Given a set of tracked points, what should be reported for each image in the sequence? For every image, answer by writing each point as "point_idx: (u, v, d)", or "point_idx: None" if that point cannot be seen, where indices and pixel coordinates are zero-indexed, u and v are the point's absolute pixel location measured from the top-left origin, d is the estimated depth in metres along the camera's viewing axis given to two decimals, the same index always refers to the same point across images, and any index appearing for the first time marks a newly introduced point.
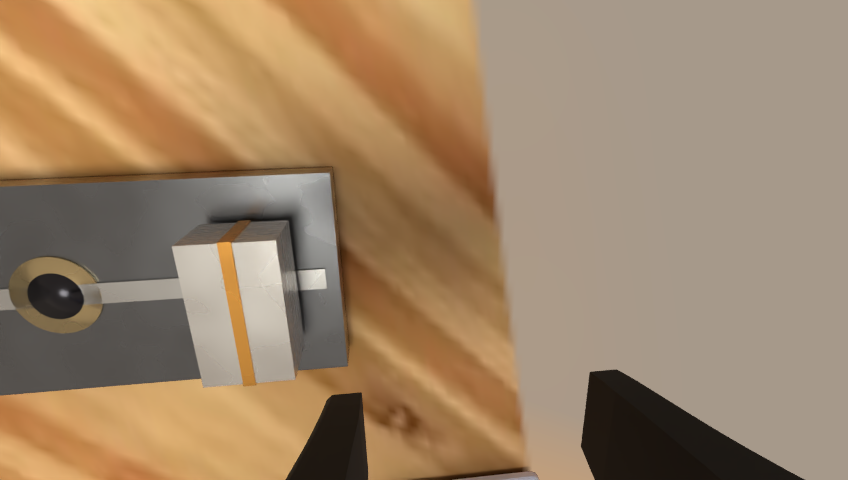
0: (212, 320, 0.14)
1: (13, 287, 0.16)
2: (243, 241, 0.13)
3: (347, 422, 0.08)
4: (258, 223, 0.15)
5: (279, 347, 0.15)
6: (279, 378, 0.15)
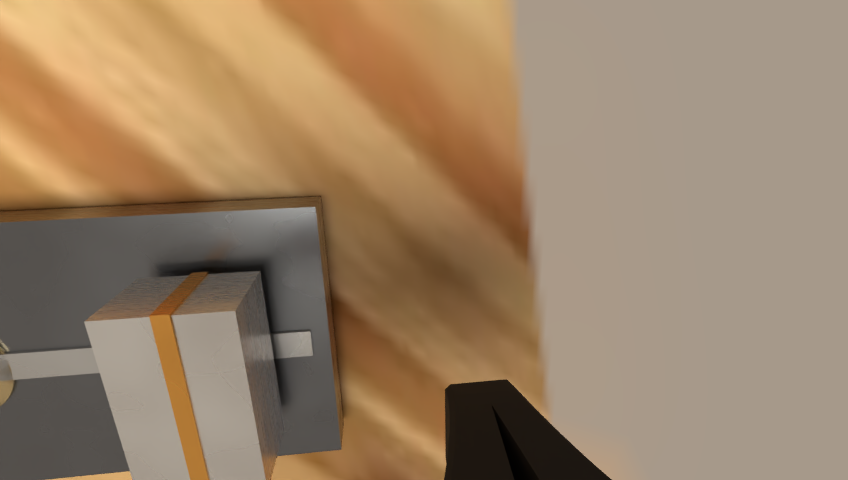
0: (148, 418, 0.10)
1: None
2: (189, 312, 0.09)
3: (481, 410, 0.08)
4: (217, 277, 0.11)
5: (244, 451, 0.11)
6: None
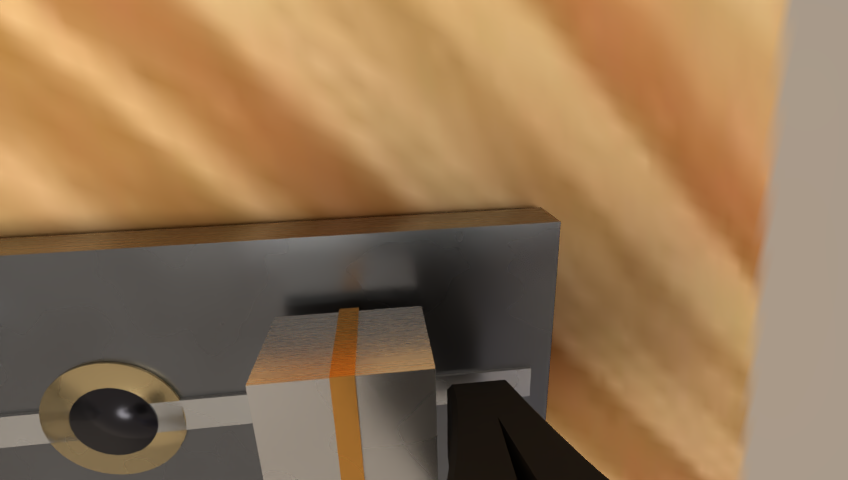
0: None
1: (47, 411, 0.10)
2: (375, 370, 0.07)
3: (483, 409, 0.08)
4: (373, 315, 0.09)
5: None
6: None
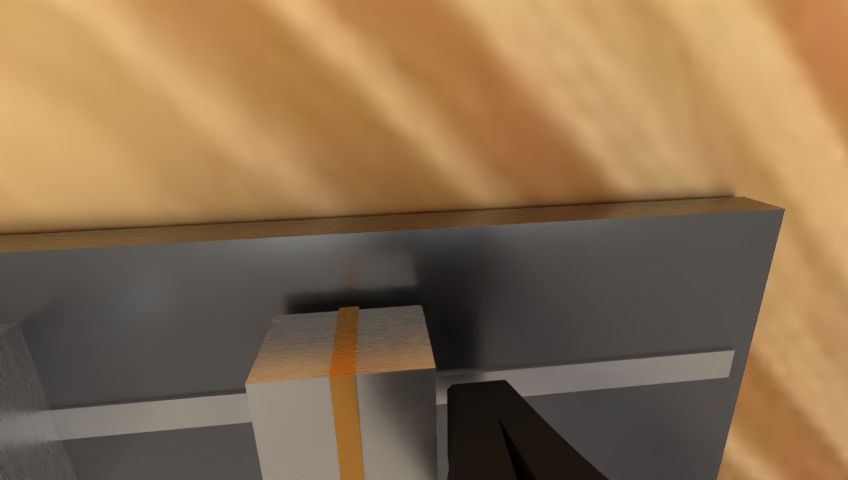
0: None
1: None
2: (375, 369, 0.07)
3: (483, 409, 0.08)
4: (374, 314, 0.09)
5: None
6: None
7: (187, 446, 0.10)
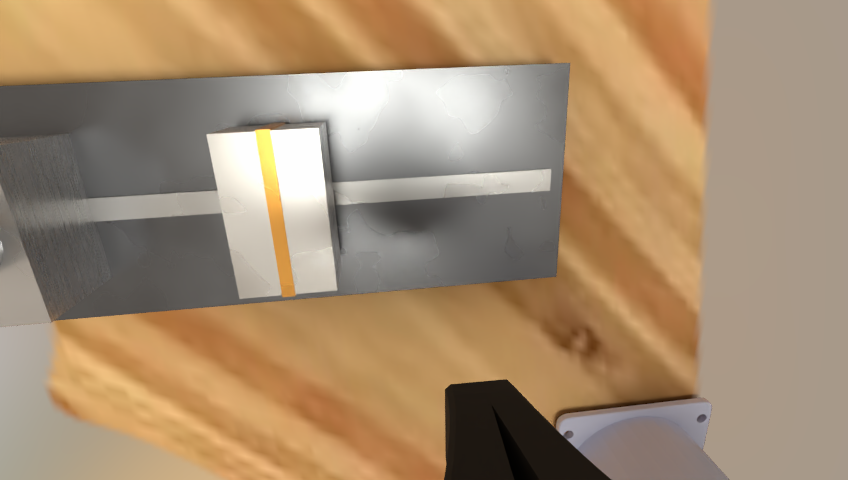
0: (249, 221, 0.13)
1: None
2: (283, 130, 0.12)
3: (481, 410, 0.08)
4: (293, 124, 0.14)
5: (320, 253, 0.14)
6: (320, 290, 0.14)
7: (178, 232, 0.16)
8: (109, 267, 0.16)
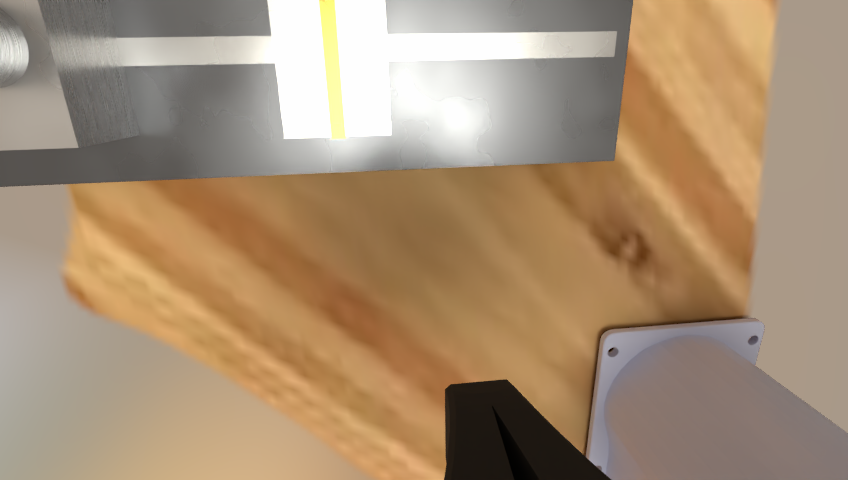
0: (300, 42, 0.12)
1: None
2: None
3: (481, 410, 0.08)
4: None
5: (376, 87, 0.12)
6: (372, 135, 0.13)
7: (213, 84, 0.14)
8: (137, 122, 0.14)
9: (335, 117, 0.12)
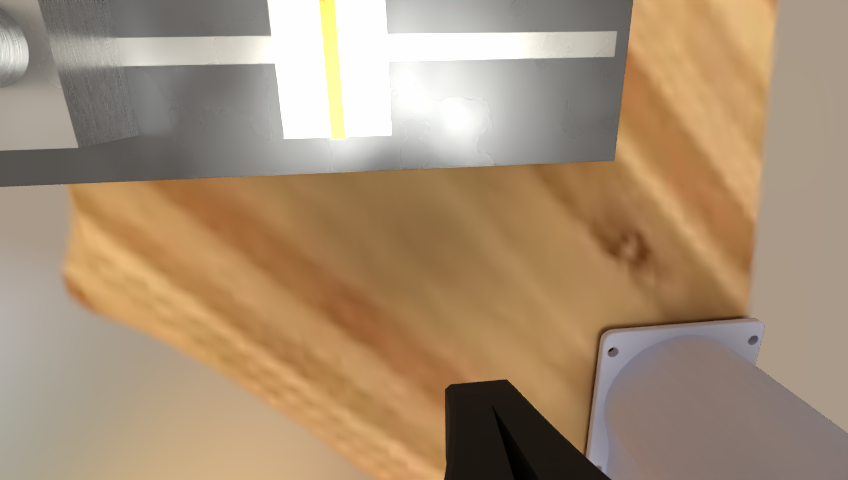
0: (300, 42, 0.12)
1: None
2: None
3: (481, 410, 0.08)
4: None
5: (376, 87, 0.12)
6: (372, 135, 0.13)
7: (213, 84, 0.14)
8: (137, 122, 0.14)
9: (335, 117, 0.12)
